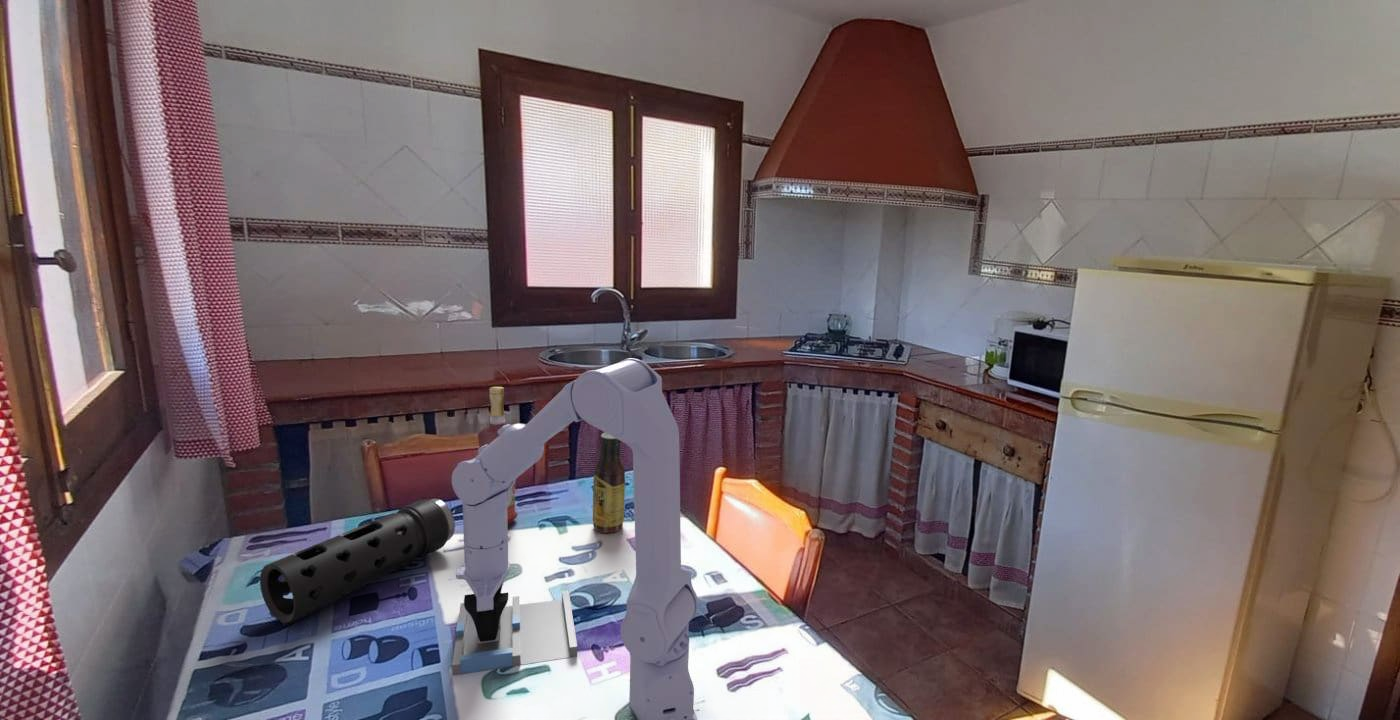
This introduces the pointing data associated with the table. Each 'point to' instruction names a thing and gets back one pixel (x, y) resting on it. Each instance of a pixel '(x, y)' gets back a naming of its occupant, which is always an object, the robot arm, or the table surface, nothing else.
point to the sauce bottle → (609, 487)
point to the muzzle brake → (354, 559)
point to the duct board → (517, 637)
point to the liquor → (491, 434)
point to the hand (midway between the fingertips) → (488, 627)
